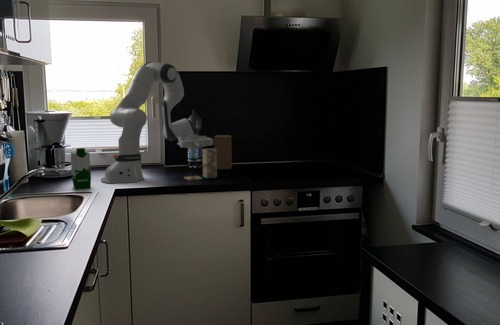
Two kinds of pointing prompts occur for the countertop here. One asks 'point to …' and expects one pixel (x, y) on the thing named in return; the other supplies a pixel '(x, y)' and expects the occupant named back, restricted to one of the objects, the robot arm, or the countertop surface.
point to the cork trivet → (193, 178)
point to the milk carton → (81, 169)
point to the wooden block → (223, 151)
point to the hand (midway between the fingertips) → (201, 144)
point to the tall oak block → (209, 163)
